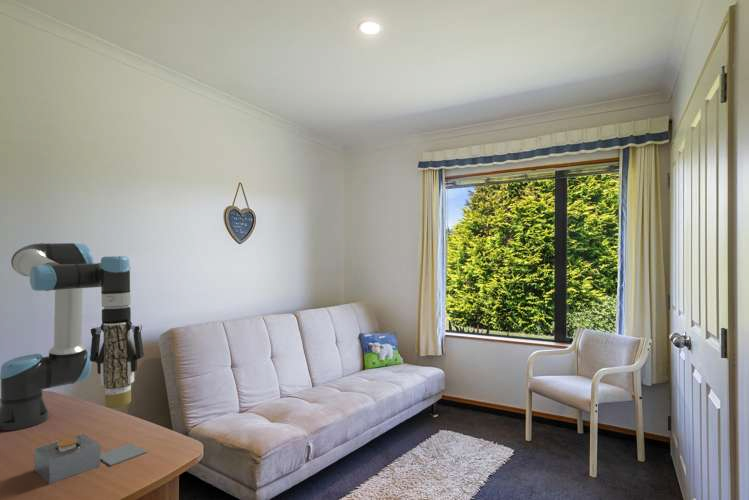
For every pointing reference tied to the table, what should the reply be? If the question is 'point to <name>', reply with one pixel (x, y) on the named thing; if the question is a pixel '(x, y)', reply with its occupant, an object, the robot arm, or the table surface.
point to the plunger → (67, 444)
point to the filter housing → (66, 459)
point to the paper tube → (116, 365)
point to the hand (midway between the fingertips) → (117, 383)
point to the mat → (121, 454)
